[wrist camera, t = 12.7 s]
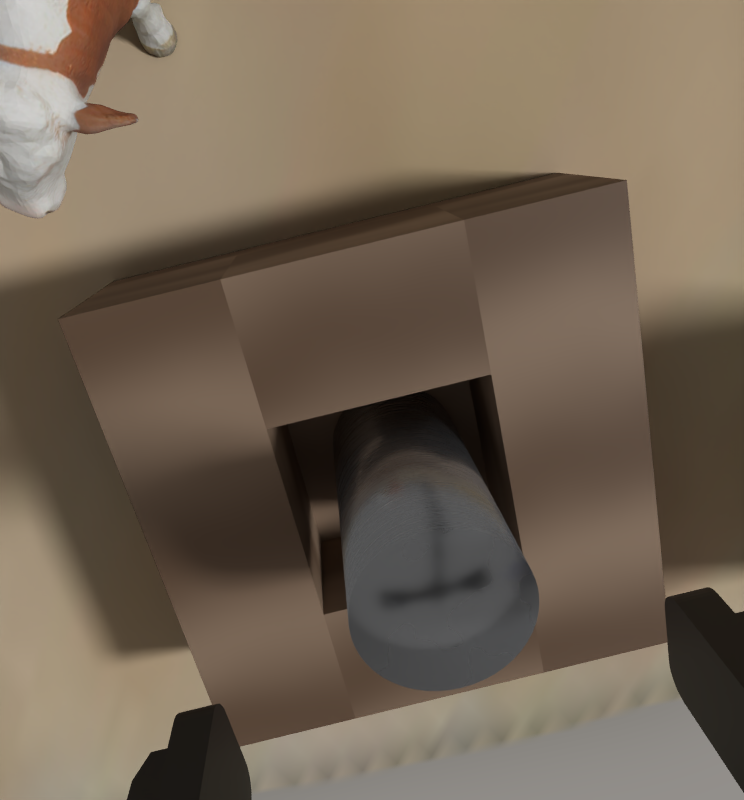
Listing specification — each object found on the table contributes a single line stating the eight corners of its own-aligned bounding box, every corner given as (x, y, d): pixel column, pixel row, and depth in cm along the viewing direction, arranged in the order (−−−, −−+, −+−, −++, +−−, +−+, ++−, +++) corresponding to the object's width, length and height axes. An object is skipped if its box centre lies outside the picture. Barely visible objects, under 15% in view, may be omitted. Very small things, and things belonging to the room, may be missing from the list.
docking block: (113, 281, 21) (57, 319, 17) (557, 172, 21) (626, 179, 17) (244, 641, 26) (229, 749, 22) (605, 553, 26) (669, 641, 22)
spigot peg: (319, 401, 22) (327, 556, 14) (441, 371, 22) (524, 508, 14) (348, 509, 24) (372, 710, 15) (463, 481, 24) (551, 665, 15)
